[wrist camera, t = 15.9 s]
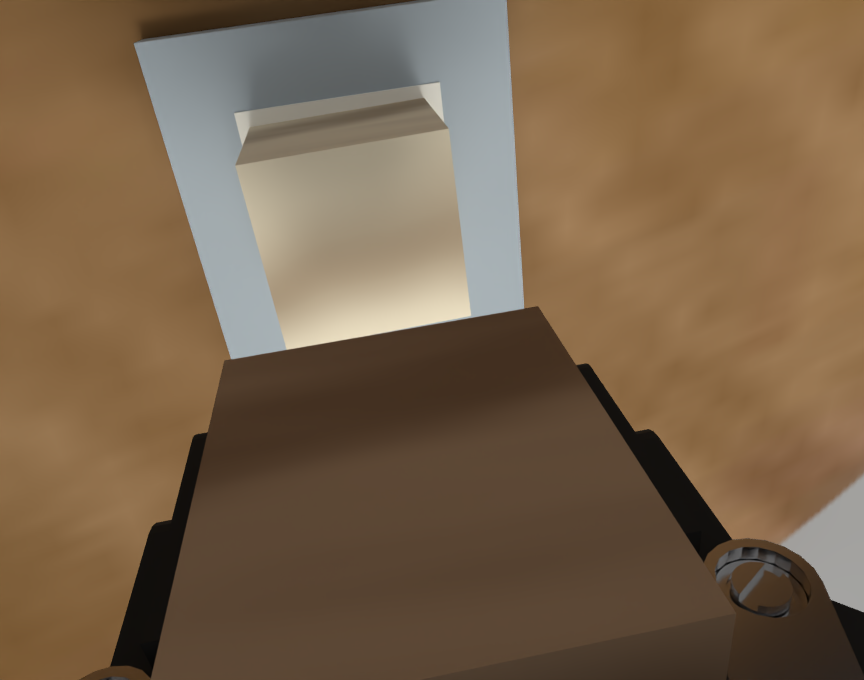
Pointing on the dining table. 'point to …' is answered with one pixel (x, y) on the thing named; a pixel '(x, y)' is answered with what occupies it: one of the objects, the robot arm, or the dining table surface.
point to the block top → (432, 523)
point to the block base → (356, 221)
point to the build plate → (330, 93)
